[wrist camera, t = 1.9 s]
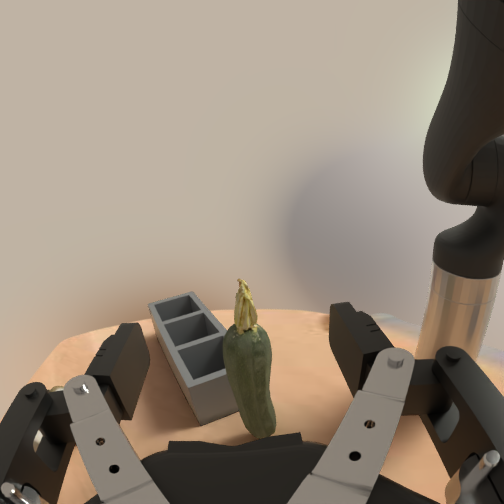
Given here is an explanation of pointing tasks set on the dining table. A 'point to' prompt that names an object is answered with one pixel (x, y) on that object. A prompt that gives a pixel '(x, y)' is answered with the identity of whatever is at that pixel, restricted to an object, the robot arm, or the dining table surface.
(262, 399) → the vegetable
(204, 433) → the dining table surface
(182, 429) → the dining table surface
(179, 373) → the compartment organizer
